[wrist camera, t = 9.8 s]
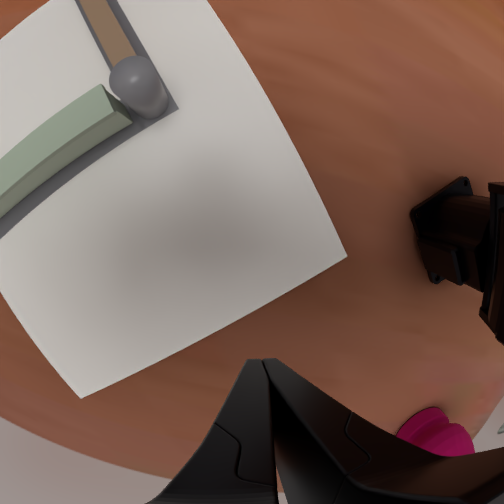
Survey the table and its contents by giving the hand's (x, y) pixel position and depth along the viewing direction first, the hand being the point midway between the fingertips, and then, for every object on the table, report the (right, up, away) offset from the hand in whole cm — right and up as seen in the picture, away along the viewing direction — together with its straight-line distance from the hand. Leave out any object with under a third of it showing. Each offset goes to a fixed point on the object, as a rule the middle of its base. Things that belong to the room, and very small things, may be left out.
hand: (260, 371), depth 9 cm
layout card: (-10, +9, +8) cm, 16 cm away
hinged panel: (-13, +8, +7) cm, 17 cm away
